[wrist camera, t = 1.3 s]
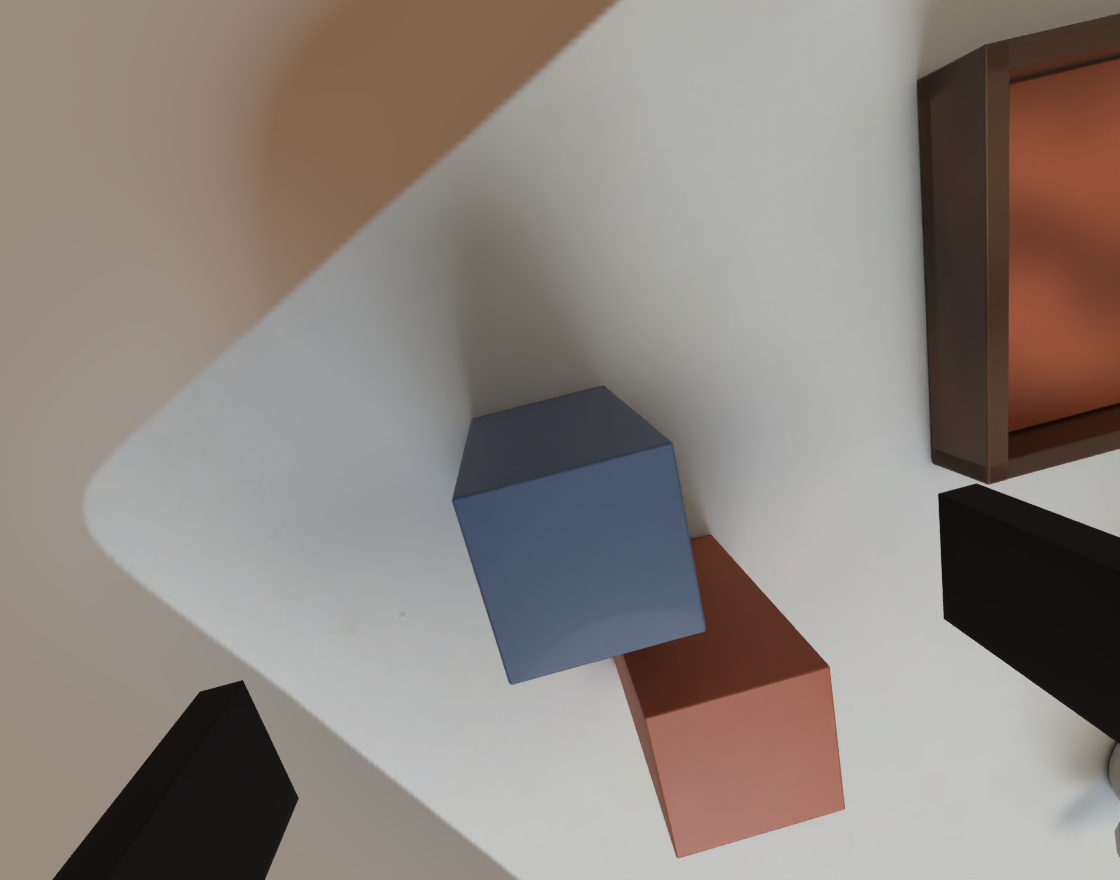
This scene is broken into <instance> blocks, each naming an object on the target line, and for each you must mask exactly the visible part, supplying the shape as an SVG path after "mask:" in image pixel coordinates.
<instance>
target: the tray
mask: <svg viewBox="0 0 1120 880" xmlns="http://www.w3.org/2000/svg"><path fill="white" fill-rule="evenodd" d="M918 94H919V116H920V142H921V168H922V195H923V221H924V247H925V273H926V299H927V325H928V351H929V377H930V404H931V430H932V456H933V464H935V465H938V466H941V467H943V468H946V469H949V470H951V471H954V472H956V473H959V474H962V475H964V476H967V477H970V478H972V479H975V480H978V481H980V482H983V483H985V484H993V483H996V482H1000V481H1004V480H1007V479H1009V478H1013V477H1017V476H1021V475H1024V474H1028V473H1032V472H1035V471H1039V470H1043V469H1046V468H1050V467H1054V466H1058V465H1061V464H1065V463H1069V462H1072V461H1076V460H1080V459H1084V458H1087V457H1091V456H1095V455H1098V454H1102V453H1106V452H1109V451H1113V450H1117V449H1120V14H1115V15H1111V16H1107V17H1102V18H1098V19H1094V20H1089V21H1085V22H1081V23H1076V24H1072V25H1068V26H1063V27H1059V28H1055V29H1050V30H1046V31H1042V32H1037V33H1033V34H1029V35H1025V36H1020V37H1016V38H1012V39H1007V40H1003V41H999V42H994V43H990V44H986V45H984V46H982V47H980V48H978V49H976V50H974V51H972V52H970V53H968V54H966V55H965V56H963V57H961V58H959V59H957V60H955V61H953V62H951V63H949V64H947V65H946V66H944V67H942V68H940V69H938V70H936V71H934V72H932V73H930V74H928V75H927V76H925V77H923V78H921V79H919V80H918Z"/></svg>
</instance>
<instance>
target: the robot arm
mask: <svg viewBox="0 0 1120 880" xmlns="http://www.w3.org/2000/svg"><path fill="white" fill-rule="evenodd" d="M938 498H939V521H940V543H941V566H942V588H943V610H944V619H945V620H946V621H948V622H949V623H951V624H952V625H953V626H955V627H956V628H958V629H959V630H960V631H962V632H963V633H965V634H966V635H967V636H969V637H970V638H972V639H973V640H974V641H976V642H977V643H979V644H980V645H981V646H983V647H984V648H986V649H987V650H989V651H990V652H991V653H993V654H994V655H996V656H997V657H998V658H1000V659H1001V660H1003V661H1004V662H1005V663H1007V664H1008V665H1010V666H1011V667H1012V668H1014V669H1015V670H1017V671H1018V672H1019V673H1021V674H1022V675H1024V676H1025V677H1026V678H1028V679H1029V680H1031V681H1032V682H1033V683H1035V684H1036V685H1038V686H1039V687H1040V688H1042V689H1043V690H1045V691H1046V692H1048V693H1049V694H1050V695H1052V696H1053V697H1055V698H1056V699H1057V700H1059V701H1060V702H1062V703H1063V704H1064V705H1066V706H1067V707H1069V708H1070V709H1071V710H1073V711H1074V712H1076V713H1077V714H1078V715H1080V716H1081V717H1083V718H1084V719H1085V720H1087V721H1088V722H1090V723H1091V724H1092V725H1094V726H1095V727H1097V728H1098V729H1099V730H1101V731H1102V732H1104V733H1105V734H1107V735H1108V736H1109V737H1111V738H1112V739H1114V740H1115V741H1116V742H1118V743H1119V744H1120V537H1117V536H1114V535H1112V534H1109V533H1106V532H1104V531H1101V530H1098V529H1096V528H1093V527H1090V526H1088V525H1085V524H1082V523H1080V522H1077V521H1075V520H1072V519H1069V518H1067V517H1064V516H1061V515H1059V514H1056V513H1053V512H1051V511H1048V510H1045V509H1043V508H1040V507H1037V506H1035V505H1032V504H1029V503H1027V502H1024V501H1021V500H1019V499H1016V498H1014V497H1011V496H1008V495H1006V494H1003V493H1000V492H998V491H995V490H992V489H990V488H987V487H984V486H982V485H979V484H973V485H969V486H966V487H962V488H958V489H954V490H951V491H947V492H943V493H939V494H938ZM298 799H299V798H298V796H297V794H296V792H295V790H294V787H293V785H292V783H291V781H290V779H289V777H288V775H287V773H286V771H285V768H284V766H283V764H282V762H281V760H280V758H279V756H278V754H277V751H276V749H275V747H274V745H273V743H272V741H271V739H270V737H269V735H268V732H267V730H266V728H265V726H264V724H263V722H262V720H261V718H260V715H259V713H258V711H257V709H256V707H255V705H254V703H253V701H252V699H251V696H250V694H249V692H248V690H247V688H246V686H245V684H244V682H243V680H242V681H238V682H234V683H231V684H227V685H223V686H219V687H216V688H212V689H209V690H204V691H201V692H199V693H198V695H197V696H196V697H195V699H194V700H193V701H192V702H191V704H190V705H189V706H188V707H187V709H186V710H185V712H184V713H183V714H182V715H181V717H180V718H179V719H178V720H177V722H176V723H175V724H174V726H173V727H172V728H171V729H170V730H169V732H168V733H167V734H166V736H165V737H164V738H163V739H162V741H161V742H160V743H159V744H158V746H157V747H156V748H155V750H154V751H153V752H152V754H151V755H150V756H149V757H148V758H147V760H146V761H145V762H144V764H143V765H142V766H141V768H140V769H139V770H138V771H137V773H136V774H135V775H134V776H133V778H132V779H131V780H130V781H129V783H128V784H127V785H126V787H125V788H124V789H123V790H122V792H121V793H120V794H119V796H118V797H117V798H116V799H115V801H114V802H113V803H112V804H111V806H110V807H109V808H108V810H107V811H106V812H105V813H104V815H103V816H102V817H101V818H100V820H99V821H98V822H97V824H96V825H95V826H94V827H93V829H92V830H91V831H90V832H89V834H88V835H87V836H86V838H85V839H84V840H83V841H82V843H81V844H80V845H79V847H78V848H77V849H76V850H75V852H74V853H73V854H72V855H71V857H70V858H69V859H68V860H67V862H66V863H65V864H64V866H63V867H62V868H61V870H60V871H59V872H58V873H57V874H56V876H55V877H54V879H53V880H265V878H266V876H267V873H268V871H269V868H270V866H271V864H272V861H273V859H274V857H275V854H276V852H277V849H278V847H279V844H280V842H281V840H282V837H283V835H284V832H285V830H286V828H287V825H288V823H289V820H290V818H291V816H292V813H293V811H294V808H295V806H296V804H297V801H298Z"/></svg>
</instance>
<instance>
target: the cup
mask: <svg viewBox="0 0 1120 880" xmlns="http://www.w3.org/2000/svg"><path fill="white" fill-rule="evenodd" d="M1109 778H1110V782H1111V786H1112V788H1113V790H1114V792H1115V794H1116V796H1117V797H1118V798H1119V799H1120V744H1119V743H1117V745H1116V746H1115V748H1114V751H1113V754H1112V756H1111V759H1110V762H1109ZM1115 839H1116V847H1117V853H1118V855H1119V857H1120V822H1119V824H1118V826H1117V828H1116V830H1115Z"/></svg>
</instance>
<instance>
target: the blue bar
mask: <svg viewBox="0 0 1120 880" xmlns="http://www.w3.org/2000/svg"><path fill="white" fill-rule="evenodd" d="M452 502H453V505H454V509H455V512H456V515H457V518H458V521H459V525H460V528H461V531H462V534H463V537H464V541H465V544H466V547H467V550H468V553H469V556H470V560H471V563H472V566H473V569H474V572H475V576H476V579H477V582H478V585H479V588H480V592H481V595H482V598H483V601H484V604H485V608H486V611H487V614H488V617H489V620H490V623H491V627H492V630H493V633H494V636H495V639H496V643H497V646H498V649H499V652H500V655H501V659H502V662H503V665H504V668H505V671H506V675H507V678H508V681H509V683H510V684H511V685H513V684H516V683H520V682H523V681H527V680H531V679H534V678H538V677H542V676H545V675H549V674H552V673H556V672H560V671H563V670H567V669H571V668H574V667H578V666H581V665H585V664H589V663H592V662H596V661H600V660H603V659H607V658H610V657H614V656H618V655H621V654H625V653H629V652H632V651H636V650H639V649H643V648H647V647H650V646H654V645H658V644H661V643H665V642H668V641H672V640H676V639H679V638H683V637H687V636H690V635H694V634H697V633H701V632H705V631H706V624H705V619H704V613H703V608H702V602H701V597H700V591H699V586H698V580H697V575H696V569H695V564H694V558H693V553H692V547H691V542H690V536H689V531H688V525H687V520H686V514H685V509H684V503H683V498H682V492H681V487H680V481H679V476H678V470H677V465H676V459H675V454H674V448H673V444H672V442H671V441H670V440H668V439H667V438H666V437H665V436H664V435H662V434H661V433H660V432H659V431H658V430H656V429H655V428H654V427H653V426H652V425H650V424H649V423H648V422H647V421H646V420H644V419H643V418H642V417H641V416H640V415H638V414H637V413H636V412H635V411H634V410H632V409H631V408H630V407H629V406H627V405H626V404H625V403H624V402H623V401H621V400H620V399H619V398H618V397H617V396H615V395H614V394H613V393H612V392H611V391H609V390H608V389H607V388H606V387H605V386H601V387H597V388H593V389H589V390H585V391H581V392H577V393H574V394H570V395H566V396H562V397H558V398H554V399H550V400H546V401H542V402H538V403H534V404H530V405H526V406H522V407H518V408H514V409H510V410H506V411H502V412H498V413H494V414H490V415H487V416H483V417H479V418H475V419H472V420H471V424H470V428H469V432H468V436H467V440H466V445H465V449H464V453H463V457H462V461H461V465H460V470H459V474H458V478H457V482H456V486H455V490H454V494H453V499H452Z"/></svg>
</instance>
